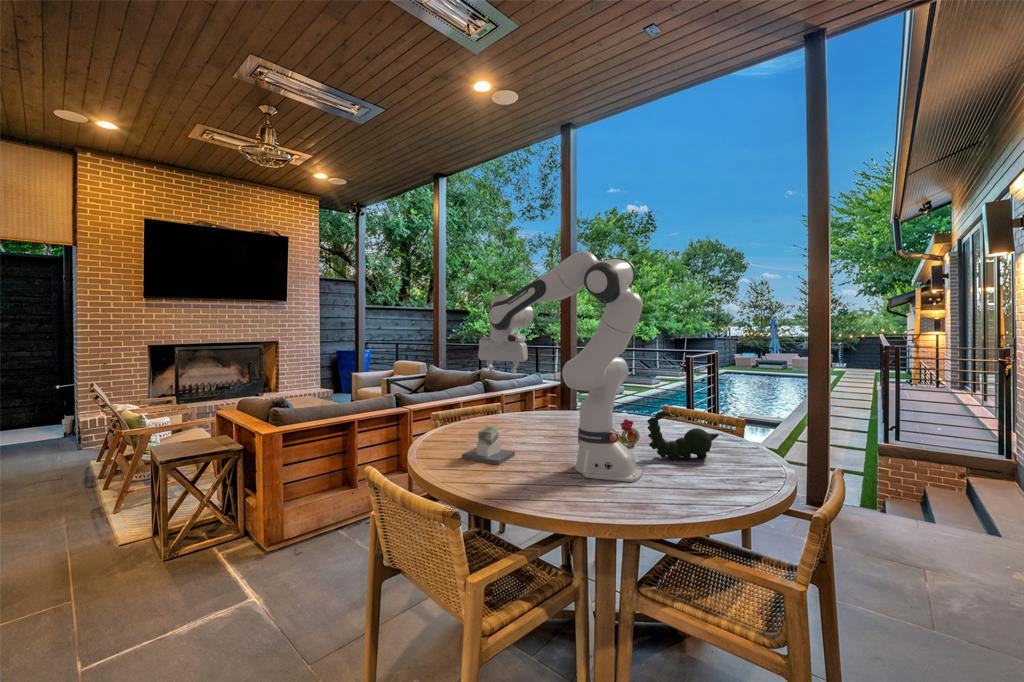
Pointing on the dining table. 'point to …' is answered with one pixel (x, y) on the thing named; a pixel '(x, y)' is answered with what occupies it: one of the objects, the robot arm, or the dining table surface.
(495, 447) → the cream brick
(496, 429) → the sage brick
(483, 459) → the base plate
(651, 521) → the dining table surface
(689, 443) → the toy figurine
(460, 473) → the dining table surface
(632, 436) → the bird rattle
